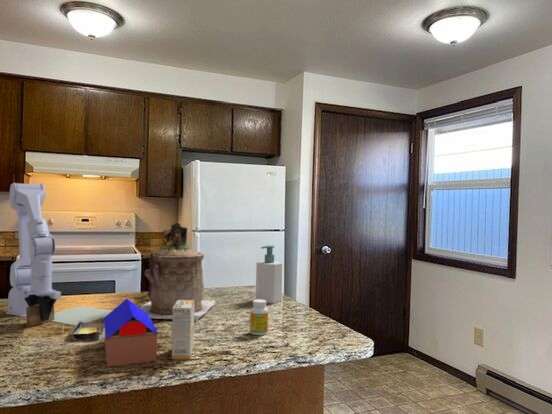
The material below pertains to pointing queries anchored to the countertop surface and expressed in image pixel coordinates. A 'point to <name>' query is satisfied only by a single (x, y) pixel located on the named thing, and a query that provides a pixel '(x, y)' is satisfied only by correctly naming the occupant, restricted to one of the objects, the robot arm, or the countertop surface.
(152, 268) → the brown textured pot
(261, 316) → the supplement bottle
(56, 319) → the mat
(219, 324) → the countertop surface
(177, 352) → the supplement box
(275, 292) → the soap bottle
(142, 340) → the house
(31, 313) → the walnut slab
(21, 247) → the robot arm
